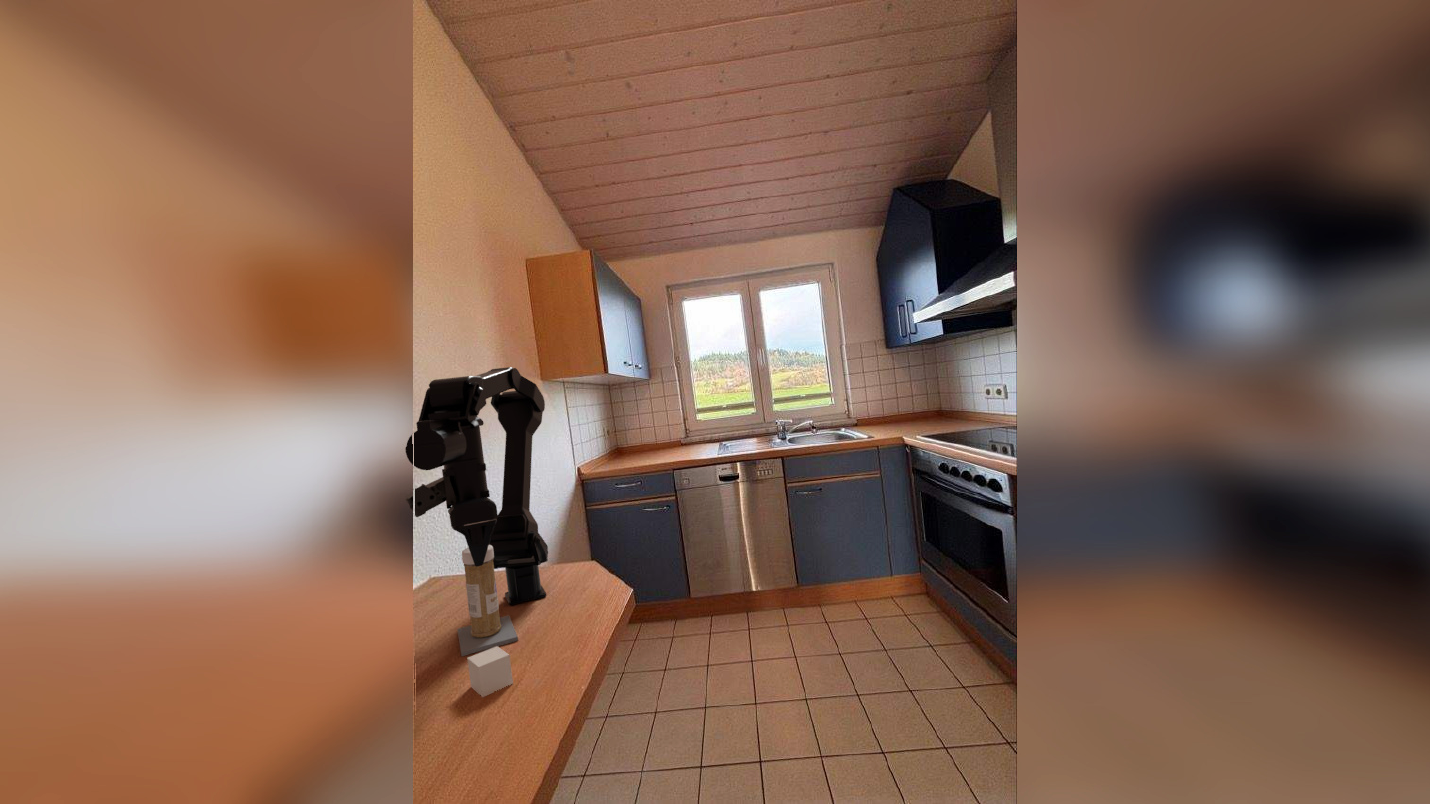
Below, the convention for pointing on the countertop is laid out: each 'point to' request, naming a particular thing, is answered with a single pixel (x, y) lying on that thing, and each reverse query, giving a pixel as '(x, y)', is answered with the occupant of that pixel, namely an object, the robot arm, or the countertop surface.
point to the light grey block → (490, 671)
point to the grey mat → (486, 638)
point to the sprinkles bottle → (482, 594)
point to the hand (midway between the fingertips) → (476, 558)
